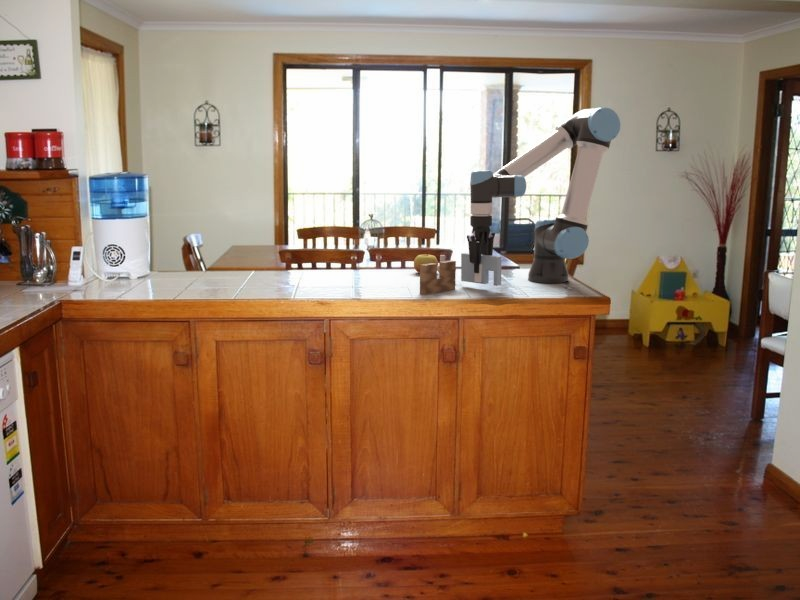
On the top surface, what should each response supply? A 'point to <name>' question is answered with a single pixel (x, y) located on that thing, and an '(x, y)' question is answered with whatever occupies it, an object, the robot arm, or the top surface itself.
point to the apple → (424, 261)
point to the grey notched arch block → (487, 265)
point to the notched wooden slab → (434, 283)
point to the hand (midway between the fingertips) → (480, 281)
